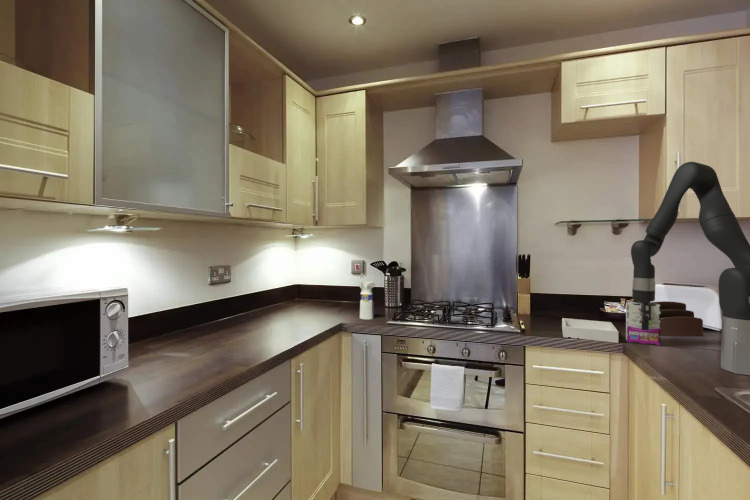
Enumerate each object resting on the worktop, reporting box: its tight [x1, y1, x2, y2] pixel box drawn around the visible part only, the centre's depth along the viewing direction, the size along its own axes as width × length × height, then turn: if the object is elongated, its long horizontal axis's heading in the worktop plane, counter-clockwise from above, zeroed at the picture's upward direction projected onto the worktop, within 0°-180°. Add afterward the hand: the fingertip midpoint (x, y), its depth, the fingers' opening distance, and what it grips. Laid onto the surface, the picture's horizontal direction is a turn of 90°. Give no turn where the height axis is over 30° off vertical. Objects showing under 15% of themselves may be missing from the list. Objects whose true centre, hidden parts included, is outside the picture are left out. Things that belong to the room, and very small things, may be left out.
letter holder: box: [649, 300, 704, 337], centre depth 164 cm, size 10×20×14 cm, turn 90°
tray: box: [561, 317, 619, 344], centre depth 161 cm, size 20×20×4 cm
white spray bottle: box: [359, 272, 376, 320], centre depth 194 cm, size 8×9×25 cm
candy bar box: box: [625, 301, 661, 346], centre depth 149 cm, size 11×5×16 cm, turn 62°
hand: (642, 327), depth 149 cm, fingers open, 8 cm apart
